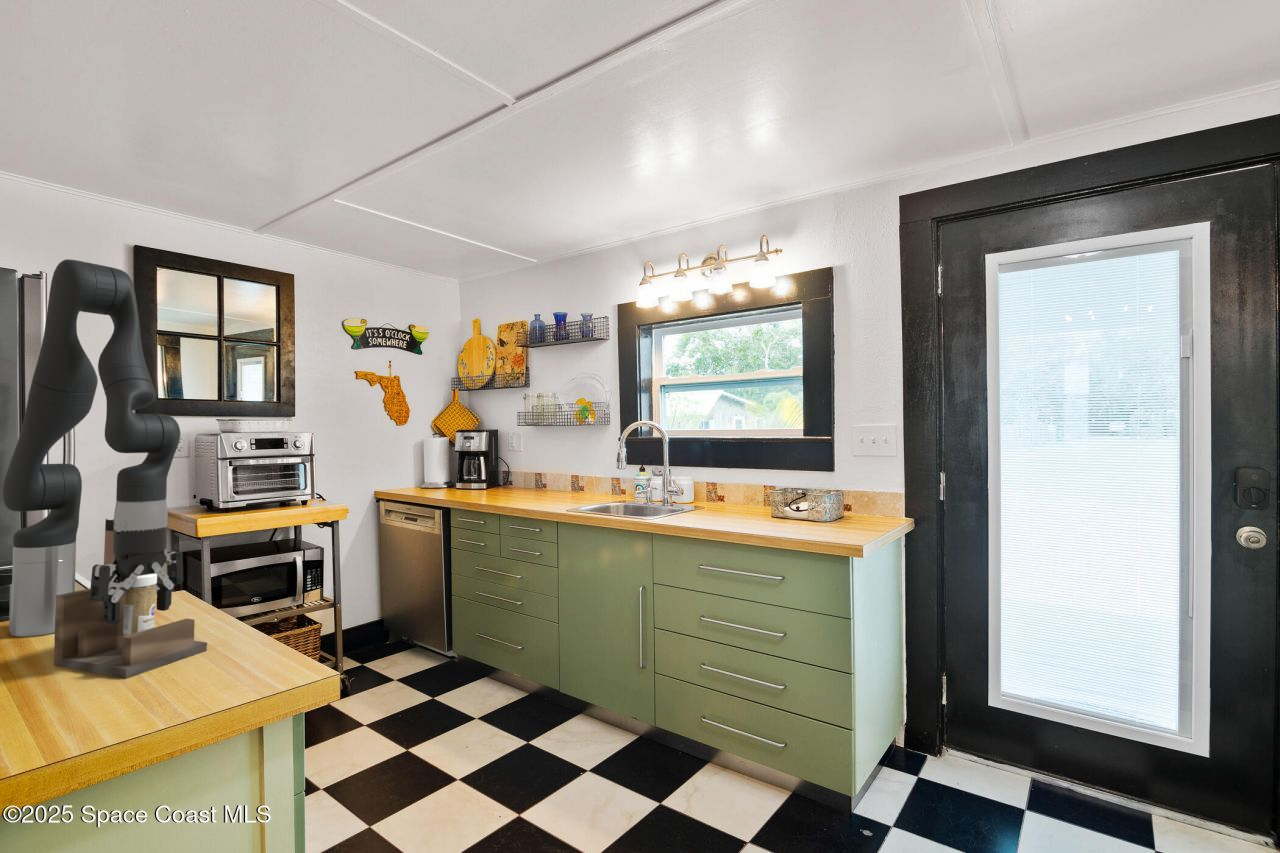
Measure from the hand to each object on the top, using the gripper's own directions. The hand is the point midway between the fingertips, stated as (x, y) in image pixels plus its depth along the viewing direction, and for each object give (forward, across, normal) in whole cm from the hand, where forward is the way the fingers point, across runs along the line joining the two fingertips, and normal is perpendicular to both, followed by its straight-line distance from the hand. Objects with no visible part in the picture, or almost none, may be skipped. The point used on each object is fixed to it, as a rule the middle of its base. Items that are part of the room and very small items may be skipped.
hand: (138, 616), depth 112 cm
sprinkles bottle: (+6, 0, 0) cm, 6 cm away
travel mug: (+8, -23, -37) cm, 44 cm away
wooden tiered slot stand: (+7, 0, 0) cm, 7 cm away
